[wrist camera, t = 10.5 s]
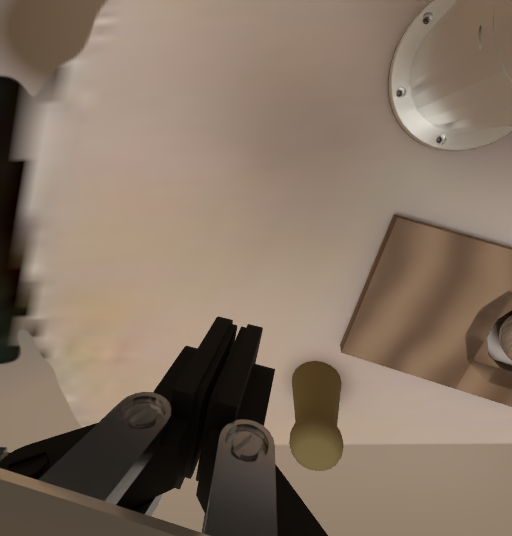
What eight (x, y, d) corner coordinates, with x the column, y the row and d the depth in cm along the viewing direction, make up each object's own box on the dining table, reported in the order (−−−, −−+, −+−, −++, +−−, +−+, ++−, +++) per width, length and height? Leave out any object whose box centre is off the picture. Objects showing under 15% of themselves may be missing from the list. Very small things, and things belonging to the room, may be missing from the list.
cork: (351, 378, 40) (362, 455, 30) (323, 409, 42) (324, 491, 32) (309, 352, 40) (306, 421, 30) (282, 385, 42) (271, 459, 32)
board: (340, 345, 39) (341, 352, 38) (393, 215, 33) (397, 217, 32) (548, 411, 37) (557, 421, 36) (643, 285, 31) (658, 291, 30)
